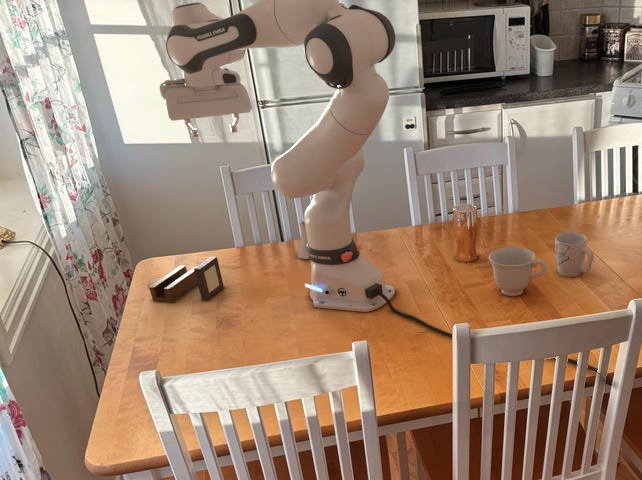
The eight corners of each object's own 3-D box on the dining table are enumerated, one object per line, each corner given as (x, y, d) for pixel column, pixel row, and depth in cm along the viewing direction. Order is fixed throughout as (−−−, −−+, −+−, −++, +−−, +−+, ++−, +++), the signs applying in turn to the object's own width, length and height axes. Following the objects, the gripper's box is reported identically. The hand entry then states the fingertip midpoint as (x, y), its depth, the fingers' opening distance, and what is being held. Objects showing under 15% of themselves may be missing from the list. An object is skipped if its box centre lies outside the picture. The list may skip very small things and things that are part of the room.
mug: (600, 274, 197) (602, 240, 192) (581, 284, 192) (583, 249, 187) (566, 263, 204) (568, 229, 199) (547, 273, 199) (548, 238, 194)
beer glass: (450, 260, 208) (448, 210, 200) (460, 251, 213) (458, 202, 205) (473, 264, 205) (471, 213, 197) (482, 254, 211) (481, 204, 203)
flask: (316, 260, 210) (311, 227, 205) (293, 259, 212) (287, 226, 206) (326, 250, 216) (321, 218, 211) (303, 249, 218) (298, 217, 212)
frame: (218, 287, 197) (211, 256, 192) (224, 287, 196) (217, 256, 192) (201, 300, 190) (193, 268, 186) (207, 300, 190) (199, 269, 185)
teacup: (538, 306, 182) (539, 269, 177) (482, 298, 187) (481, 262, 182) (551, 286, 192) (552, 250, 187) (498, 278, 197) (497, 244, 191)
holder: (184, 278, 202) (180, 265, 200) (203, 280, 201) (199, 267, 199) (152, 300, 191) (148, 287, 189) (172, 302, 189) (168, 289, 187)
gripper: (157, 83, 172) (172, 142, 179) (246, 74, 178) (257, 132, 185) (157, 78, 177) (171, 136, 184) (243, 70, 183) (253, 126, 190)
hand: (215, 134), depth 185 cm, fingers open, 8 cm apart
